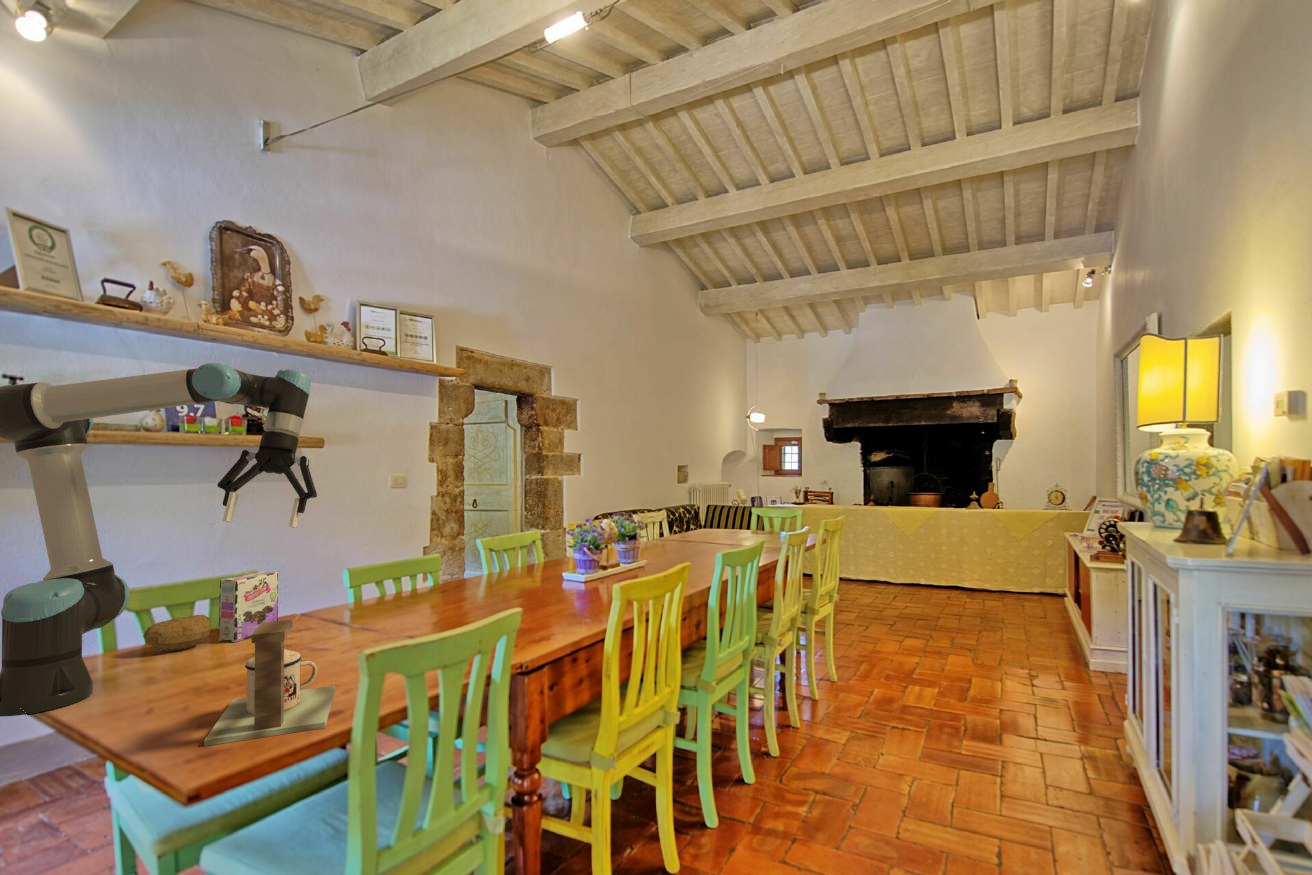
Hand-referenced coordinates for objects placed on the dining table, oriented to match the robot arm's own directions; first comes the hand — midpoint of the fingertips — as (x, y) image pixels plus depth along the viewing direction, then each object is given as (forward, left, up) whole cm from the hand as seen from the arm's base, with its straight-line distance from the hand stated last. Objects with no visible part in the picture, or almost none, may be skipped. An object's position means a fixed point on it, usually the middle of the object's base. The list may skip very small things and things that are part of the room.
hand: (260, 524), depth 144 cm
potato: (-23, +30, -34) cm, 51 cm away
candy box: (-9, +38, -34) cm, 52 cm away
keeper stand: (+8, -29, -33) cm, 45 cm away
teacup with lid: (+8, -26, -33) cm, 43 cm away
